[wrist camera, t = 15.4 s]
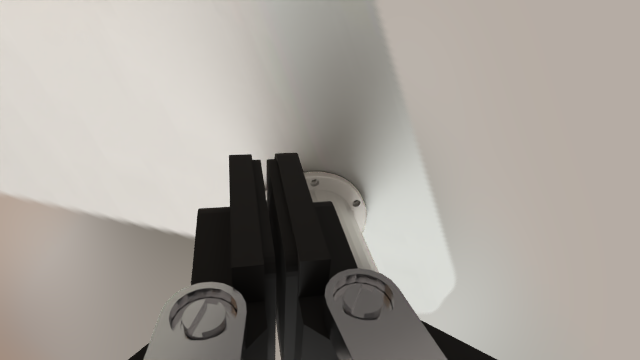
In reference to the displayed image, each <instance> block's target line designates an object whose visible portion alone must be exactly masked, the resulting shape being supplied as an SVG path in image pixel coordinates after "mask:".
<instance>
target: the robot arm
mask: <svg viewBox="0 0 640 360" xmlns="http://www.w3.org/2000/svg"><path fill="white" fill-rule="evenodd" d="M229 176H230V207H220V208H202V209H198V215H197V226H196V237H195V248H194V259H193V269H192V281H191V286H188V287H186V288H184V289H182V290H180V291H179V292H177V293H175V294H174V295H173V296H172V297H171V298H170V299H169V300H168V301H167V302H166V304H165V305H164V307H163V309H162V311H161V313H160V315H159V318H158V321H157V324H156V326H155V329H154V332H153V335H152V337H151V340H150V343H149V344H147V345H146V346H145V347H143V348H142V349H141V350H140V351H139V352H137V353H136V354H135V355H134V356H132V357H131V358H130V359H129V360H275V325H276V324H277V332H278V339H279V346H280V355H281V360H497V359H495V358H493V357H491V356H489V355H487V354H485V353H483V352H481V351H479V350H477V349H475V348H474V347H472V346H470V345H468V344H466V343H464V342H462V341H460V340H458V339H456V338H454V337H452V336H450V335H448V334H446V333H444V332H443V331H441V330H439V329H437V328H434V327H433V326H431V325H429V324H427V323H425V322H423V321H421V320H420V319H419V318H418V316H417V314H416V313H415V312H414V310H413V309H412V307H411V306H410V304H409V303H408V301H407V300H406V298H405V297H404V295H403V294H402V293H401V291H400V290H399V288H398V287H397V286H396V285H395V284H394V283H393V282H392V280H390V279H389V278H387V277H386V276H384V275H383V274H381V273H379V272H378V269H377V267H376V265H375V263H374V260H373V258H372V256H371V253H370V251H369V249H368V246H367V244H366V242H365V239H364V237H363V235H362V232H363V230H364V227H365V224H366V217H367V212H366V206H365V203H364V201H363V199H362V196H361V195H360V193H359V191H358V190H357V189H356V187H355V186H354V185H353V184H352V183H350V182H349V181H347V180H346V179H344V178H343V177H340V176H338V175H335V174H332V173H326V172H303V169H302V166H301V163H300V160H299V157H298V154H297V153H279V154H275V159H269V160H267V190H266V191H265V187H264V180H263V174H262V167H261V161H260V160H252V156H251V154H249V155H229Z"/></svg>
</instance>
